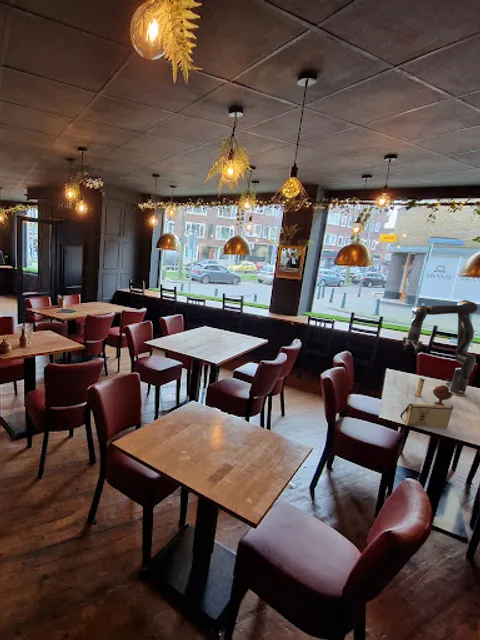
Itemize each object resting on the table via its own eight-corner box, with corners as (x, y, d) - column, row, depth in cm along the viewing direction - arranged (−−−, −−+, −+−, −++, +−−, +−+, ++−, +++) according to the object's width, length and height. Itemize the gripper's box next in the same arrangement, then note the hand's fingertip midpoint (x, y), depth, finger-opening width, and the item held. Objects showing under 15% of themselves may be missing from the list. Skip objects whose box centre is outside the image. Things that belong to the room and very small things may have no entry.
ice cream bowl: (453, 408, 241) (458, 388, 238) (437, 407, 241) (442, 387, 238) (441, 401, 251) (446, 382, 248) (426, 400, 252) (431, 381, 248)
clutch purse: (440, 423, 217) (446, 401, 214) (449, 429, 210) (456, 406, 207) (395, 421, 215) (400, 399, 212) (403, 426, 209) (409, 404, 205)
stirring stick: (416, 394, 261) (420, 377, 258) (421, 396, 259) (425, 379, 256) (414, 395, 259) (419, 378, 256) (419, 397, 257) (423, 380, 254)
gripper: (427, 334, 259) (422, 354, 263) (409, 329, 272) (405, 349, 276) (420, 334, 257) (415, 354, 260) (402, 329, 270) (397, 349, 274)
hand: (409, 351), depth 268 cm, fingers open, 8 cm apart
